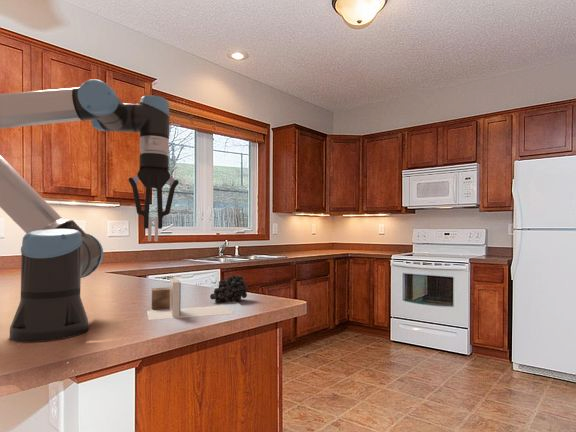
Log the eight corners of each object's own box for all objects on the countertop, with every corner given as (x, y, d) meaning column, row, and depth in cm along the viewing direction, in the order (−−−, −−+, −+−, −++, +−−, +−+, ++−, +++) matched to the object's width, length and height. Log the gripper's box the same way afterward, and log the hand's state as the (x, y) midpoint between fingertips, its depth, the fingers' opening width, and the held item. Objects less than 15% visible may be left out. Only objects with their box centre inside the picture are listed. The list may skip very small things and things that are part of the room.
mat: (148, 322, 99) (148, 320, 99) (146, 312, 110) (146, 310, 110) (233, 315, 107) (233, 313, 107) (224, 307, 118) (224, 305, 118)
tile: (172, 316, 102) (173, 282, 103) (169, 310, 111) (170, 278, 111) (180, 316, 103) (180, 282, 103) (176, 309, 111) (177, 278, 112)
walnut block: (152, 311, 112) (152, 290, 112) (151, 308, 117) (151, 288, 117) (170, 310, 114) (170, 289, 114) (168, 307, 119) (169, 287, 119)
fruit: (215, 276, 120) (248, 271, 132) (198, 283, 125) (232, 277, 137) (221, 304, 118) (255, 296, 130) (204, 310, 123) (238, 301, 135)
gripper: (126, 149, 100) (124, 241, 99) (182, 153, 105) (181, 241, 104) (126, 154, 107) (125, 240, 106) (179, 158, 112) (178, 240, 111)
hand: (152, 240), depth 105 cm, fingers closed
